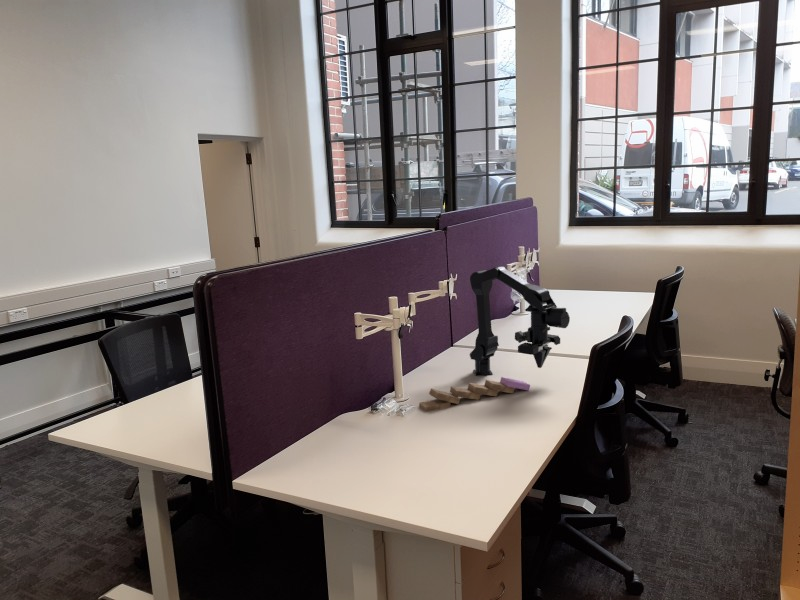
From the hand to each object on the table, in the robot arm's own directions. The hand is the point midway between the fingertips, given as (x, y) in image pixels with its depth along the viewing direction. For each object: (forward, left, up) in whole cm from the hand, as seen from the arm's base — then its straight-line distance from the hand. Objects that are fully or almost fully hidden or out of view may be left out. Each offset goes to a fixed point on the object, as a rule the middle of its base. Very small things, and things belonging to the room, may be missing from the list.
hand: (539, 367), depth 216 cm
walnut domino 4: (+5, -18, -6) cm, 19 cm away
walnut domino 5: (+4, -12, -6) cm, 13 cm away
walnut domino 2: (+11, -32, -6) cm, 34 cm away
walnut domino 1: (+12, -35, -6) cm, 37 cm away
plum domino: (+2, -6, -6) cm, 8 cm away
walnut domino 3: (+7, -24, -6) cm, 26 cm away
